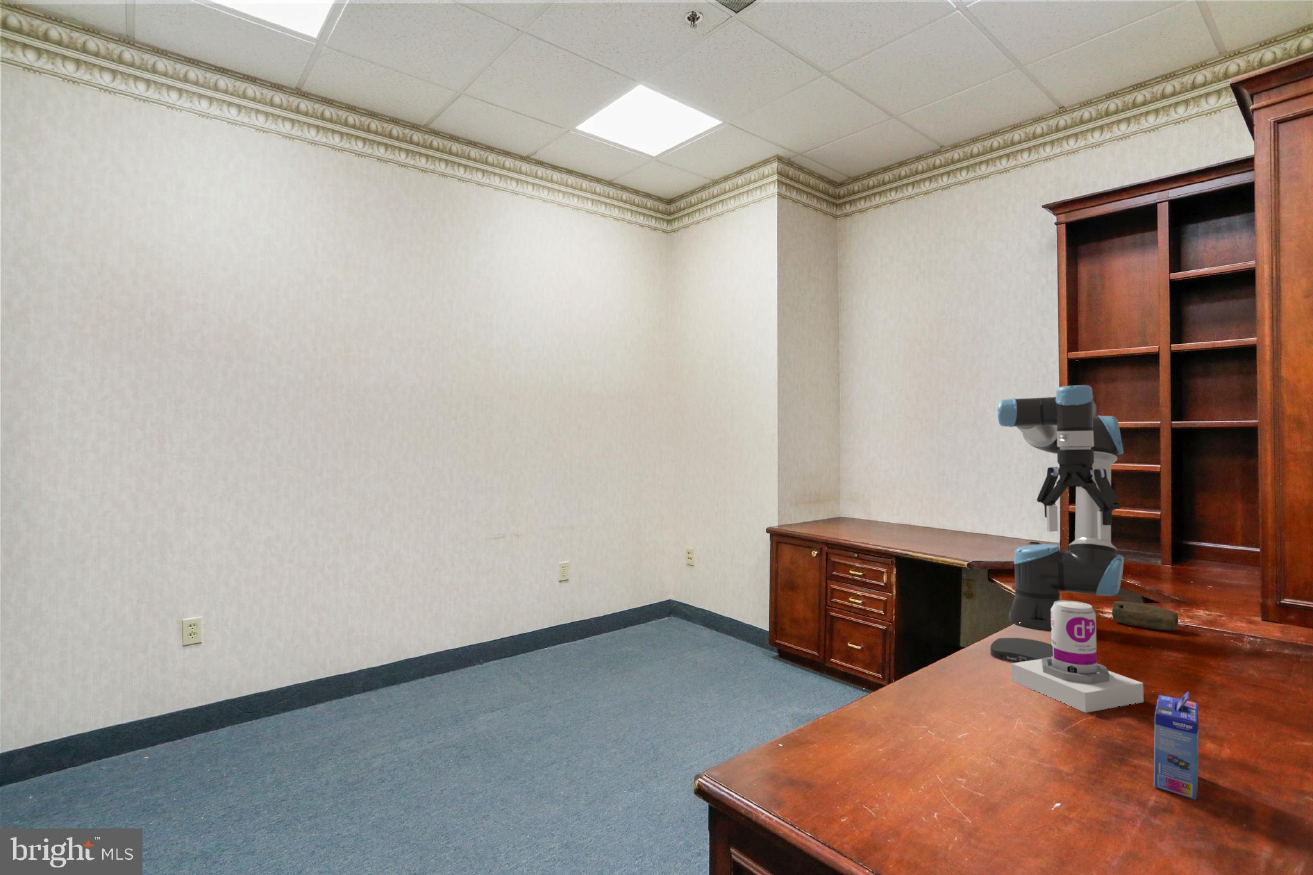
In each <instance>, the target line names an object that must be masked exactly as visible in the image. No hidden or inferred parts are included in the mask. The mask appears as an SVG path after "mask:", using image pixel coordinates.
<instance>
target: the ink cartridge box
mask: <svg viewBox="0 0 1313 875" xmlns="http://www.w3.org/2000/svg"><path fill="white" fill-rule="evenodd" d="M1189 699H1190V691H1187V692H1186V693H1185V694H1184V695H1183V696H1182V697H1181V698H1177V697H1172V696H1168V695H1162V694H1159V695H1158V698H1157V700H1156V702H1157V704H1156V706H1155V712H1154V735H1153V736H1154V740H1153V741H1154V743H1153V744H1154V745H1153V747H1154V750H1153V751H1154V753H1153V755H1154V756H1153V757H1154V759H1153V767H1154V768H1153V787H1154V788H1156V789H1160V790H1163V791H1165V792H1169V793H1174V794H1176V795H1178V796H1182V797H1185V798H1188V799H1191V800H1196V799H1197V794H1198V781H1199V752H1200V751H1199V750H1200V749H1199V748H1200V747H1199V746H1200V745H1199V744H1200V742H1199V740H1200V734H1199V733H1200V727H1199V726H1200V725H1199V724H1200V723H1199V703H1197V702H1193V701H1191V700H1189Z"/></svg>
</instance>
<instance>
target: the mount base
mask: <svg viewBox="0 0 1313 875" xmlns="http://www.w3.org/2000/svg"><path fill="white" fill-rule="evenodd" d="M1011 681H1012V682H1014V683H1016V684H1019V685H1021V686H1022V687H1025V686H1026V687H1025V688H1026V689H1027V688H1028V689H1030V690H1033V691H1034V690H1035V692H1037V693H1039V692H1040V693H1039V694H1042V695H1043V694H1044V696H1046V695H1047V697H1049V698H1050V697H1051V698H1050V699H1052V700H1055V699H1056V700H1055V701H1057V700H1058V701H1057V702H1060V701H1061V702H1060V703H1062V704H1064V703H1065V704H1064V705H1066V704H1067V706H1068V707H1071V706H1072V707H1071V708H1074V709H1076V710H1078V711H1080V712H1082V713H1086V714H1087V713H1091V712H1096V711H1102V710H1108V708H1109V709H1113V708H1119V707H1118V706H1120V707H1126V706H1130V705H1129V704H1131V705H1136V704H1140V703H1145V701H1144V682H1142V681H1138V680H1136V679H1133V678H1130V677H1127V676H1125V675H1121V674H1119V673H1116V672H1113V671H1110V670H1108V669H1107V667H1106V666H1105V665H1103V664H1100V663H1097V673H1096V674H1092V675H1084V674H1077V673H1070V672H1064V671H1061V670H1059V669H1056V668H1054V667H1052V657H1047V658H1042V659H1038V660H1031V661H1024V662H1017V663H1015V662H1011ZM1135 703H1136V704H1135Z"/></svg>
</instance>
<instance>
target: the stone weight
mask: <svg viewBox="0 0 1313 875" xmlns="http://www.w3.org/2000/svg"><path fill="white" fill-rule="evenodd" d="M1111 611H1112V612H1111V615H1112V618H1113V620H1114V621H1115V622H1117V623H1120V624H1123V625H1128V626H1132V627H1137V628H1144V629H1151V630H1159V631H1172V632H1173V631H1175V630H1176V629H1178V627H1179V615H1178V613H1177V612H1175V611H1174V610H1171V609H1167V608H1164V607H1159V606H1154V605H1149V604H1142V603H1138V602H1132V601H1123V600H1120V601H1119V600H1117V601H1113V604H1112V610H1111Z"/></svg>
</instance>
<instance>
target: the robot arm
mask: <svg viewBox="0 0 1313 875" xmlns="http://www.w3.org/2000/svg"><path fill="white" fill-rule="evenodd" d="M997 406H998V407H997V420H998V423H999V425H1000V426H1001V427H1008V428H1009V427H1010V428H1014V427H1016V428H1017V429H1018V430H1019V431H1020V432H1021V433H1022V437H1023V438H1024V440H1025V442H1026V443H1027V444H1028V445H1029V446H1031V447H1033V448H1035V449H1038V450H1040V451H1043V452H1047V453H1050V454H1057V456H1056V458H1057V459H1056V460H1057V464H1058V465H1059V467H1058V466H1049V467H1047V469H1046V477H1045V479H1044V481H1043V484H1042V487H1041V489H1040V492H1039V494H1038V496H1037V498H1036V501H1037V502H1038V503H1041V504H1043V506H1044V517H1045V519H1046V531H1047V532H1059V526H1058V525H1059V524H1058V523H1059V522H1058V521H1059V520H1058V505H1057V504H1056V502H1057V501H1058V500H1059V499H1060V497H1061V496H1062V495H1063V494H1064V493H1065V491H1066V490H1067V489H1068V487H1075V519H1074V520H1075V523H1074V524H1075V526H1074V528H1075V530H1074V540H1073V541H1072V542H1070V543H1069V544H1068V550H1067V551H1066V550H1061V548H1060V546H1059V545H1057V544H1049V543H1048V544H1047V543H1046V544H1043V543H1042V544H1030V545H1029V544H1028V545H1022V546H1019V547H1018V548H1016V549H1015V550H1014V557H1013V558H1014V559H1013V564H1014V598H1013V601H1012V603H1011V607H1010V610H1008V619H1009V622H1011V623H1013V624H1014V625H1017V624H1018V626H1021V627H1025V628H1029V629H1035V630H1047V631H1051V608H1052V606H1053V605H1054V602H1055V601H1061V591H1062V592H1069V593H1078V594H1086V595H1095V596H1097V597H1099V596H1105V597H1106V596H1107V597H1114V596H1116V595H1117V594H1118V593H1119V591H1120V590H1121V589H1120V588H1121V583H1122V579H1123V571H1124V563H1125V557H1124V556H1123V555H1121V554H1118V548H1117V547H1116V546H1115V545H1113V543H1112V524H1113V511H1115V510H1120V509H1121V507H1122V506H1121V503H1120V501H1119V499H1118V497H1117V494H1116V493H1115V491H1114V489H1113V486H1112V465H1113V464H1114V463H1116V462H1117V461H1118V456H1119V455H1123V454H1124V448H1123V442H1122V437H1121V431H1120V430H1121V429H1120V424H1119V420H1118V418H1117V417H1115V416H1112V415H1097V410H1098V409H1097V404H1096V403H1095V401H1094V395H1093V388H1092V387H1091V386H1090V385H1088V384H1086V385H1085V384H1082V385H1081V384H1080V385H1079V384H1078V385H1077V384H1076V385H1065V386H1060V387H1058V388H1057V389H1056V395H1055V396H1050V397H1048V396H1047V397H1033V398H1032V397H1029V398H1008V399H1007V398H1006V399H1002V400H1000V401H999V402H998V405H997ZM1059 476H1060V477H1059ZM1058 478H1059V479H1058ZM1019 622H1021V623H1020V624H1019Z"/></svg>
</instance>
